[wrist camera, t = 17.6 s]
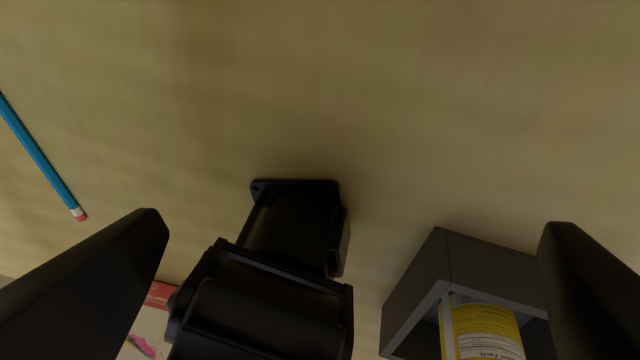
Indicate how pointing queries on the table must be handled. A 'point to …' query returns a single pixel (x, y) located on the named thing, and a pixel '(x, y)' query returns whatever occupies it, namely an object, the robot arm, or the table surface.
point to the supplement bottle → (477, 329)
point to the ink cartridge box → (149, 327)
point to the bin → (468, 279)
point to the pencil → (40, 159)
